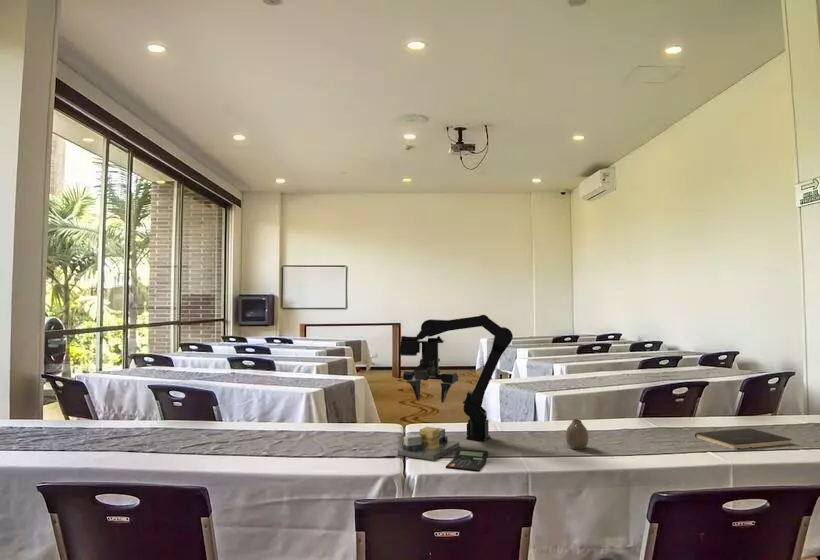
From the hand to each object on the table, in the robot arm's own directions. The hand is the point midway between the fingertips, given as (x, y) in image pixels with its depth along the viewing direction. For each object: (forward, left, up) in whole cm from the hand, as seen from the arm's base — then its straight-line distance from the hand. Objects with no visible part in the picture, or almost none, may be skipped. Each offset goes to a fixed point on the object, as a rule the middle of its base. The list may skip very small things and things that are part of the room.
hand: (430, 401), depth 189 cm
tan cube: (-8, +16, -10) cm, 20 cm away
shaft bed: (-8, +16, -12) cm, 21 cm away
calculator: (-24, +23, -12) cm, 35 cm away
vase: (-47, -10, -12) cm, 50 cm away
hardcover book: (-92, -46, -13) cm, 104 cm away
